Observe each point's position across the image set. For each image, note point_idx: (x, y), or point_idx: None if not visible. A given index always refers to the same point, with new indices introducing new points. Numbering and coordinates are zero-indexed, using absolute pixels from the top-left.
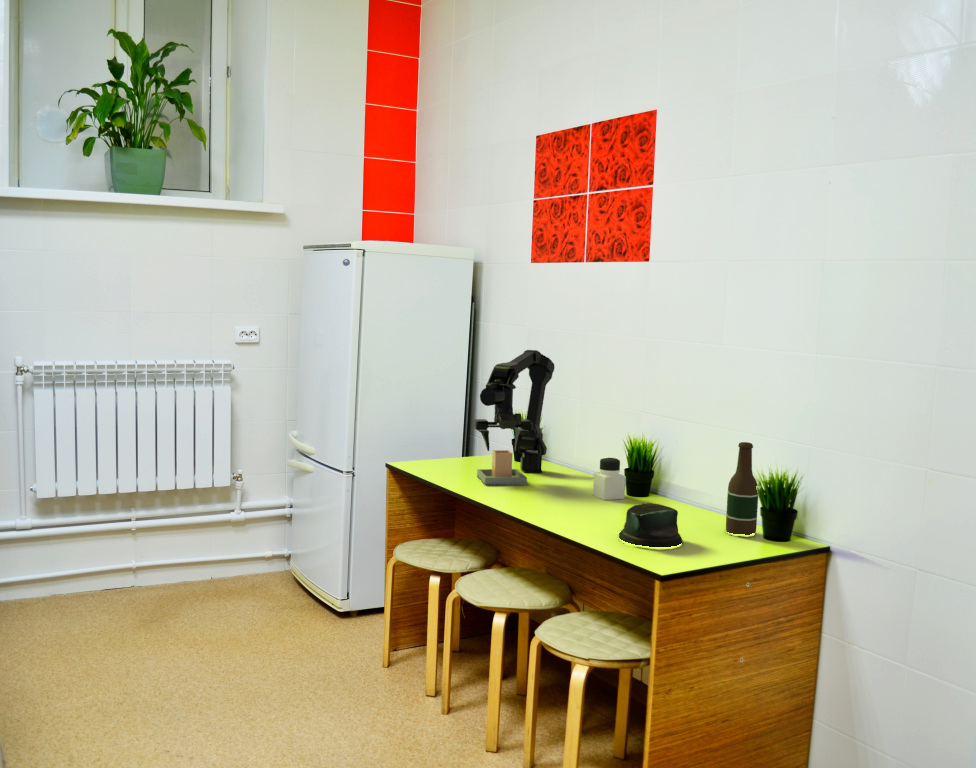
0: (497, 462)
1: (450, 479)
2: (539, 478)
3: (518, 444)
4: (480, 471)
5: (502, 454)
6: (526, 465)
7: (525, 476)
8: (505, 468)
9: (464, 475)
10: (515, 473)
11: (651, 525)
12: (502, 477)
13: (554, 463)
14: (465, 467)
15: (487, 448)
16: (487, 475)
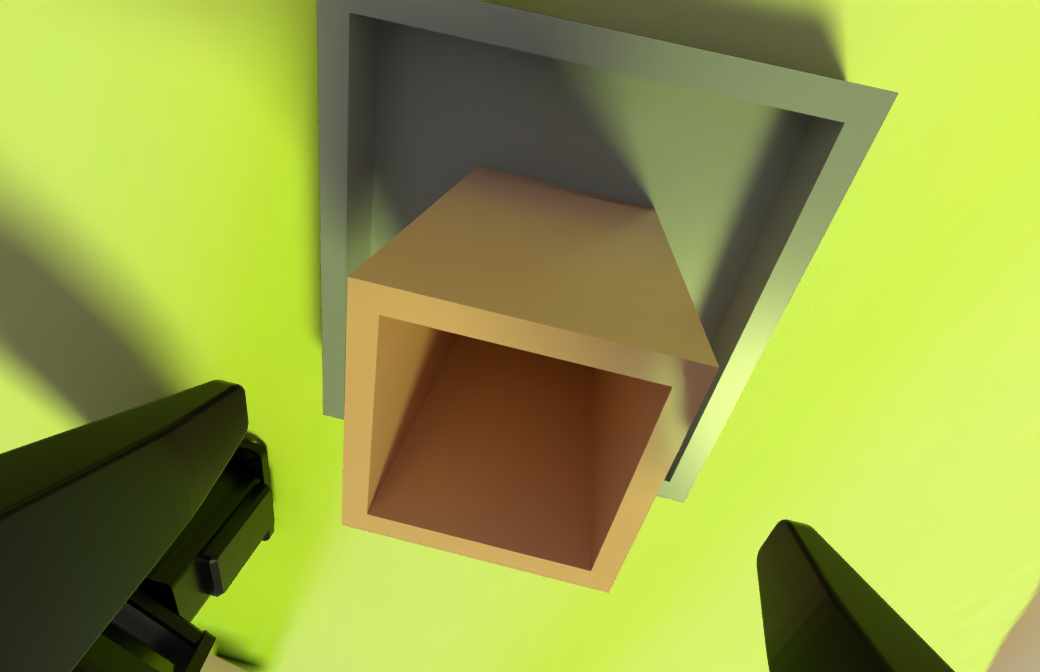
0: (652, 277)
1: (964, 443)
2: (179, 256)
3: (57, 444)
4: (711, 424)
5: (569, 316)
6: (219, 499)
7: (321, 33)
8: (530, 217)
9: (742, 515)
10: None
11: None
12: (649, 48)
13: None
14: (597, 662)
15: (850, 569)
16: None
